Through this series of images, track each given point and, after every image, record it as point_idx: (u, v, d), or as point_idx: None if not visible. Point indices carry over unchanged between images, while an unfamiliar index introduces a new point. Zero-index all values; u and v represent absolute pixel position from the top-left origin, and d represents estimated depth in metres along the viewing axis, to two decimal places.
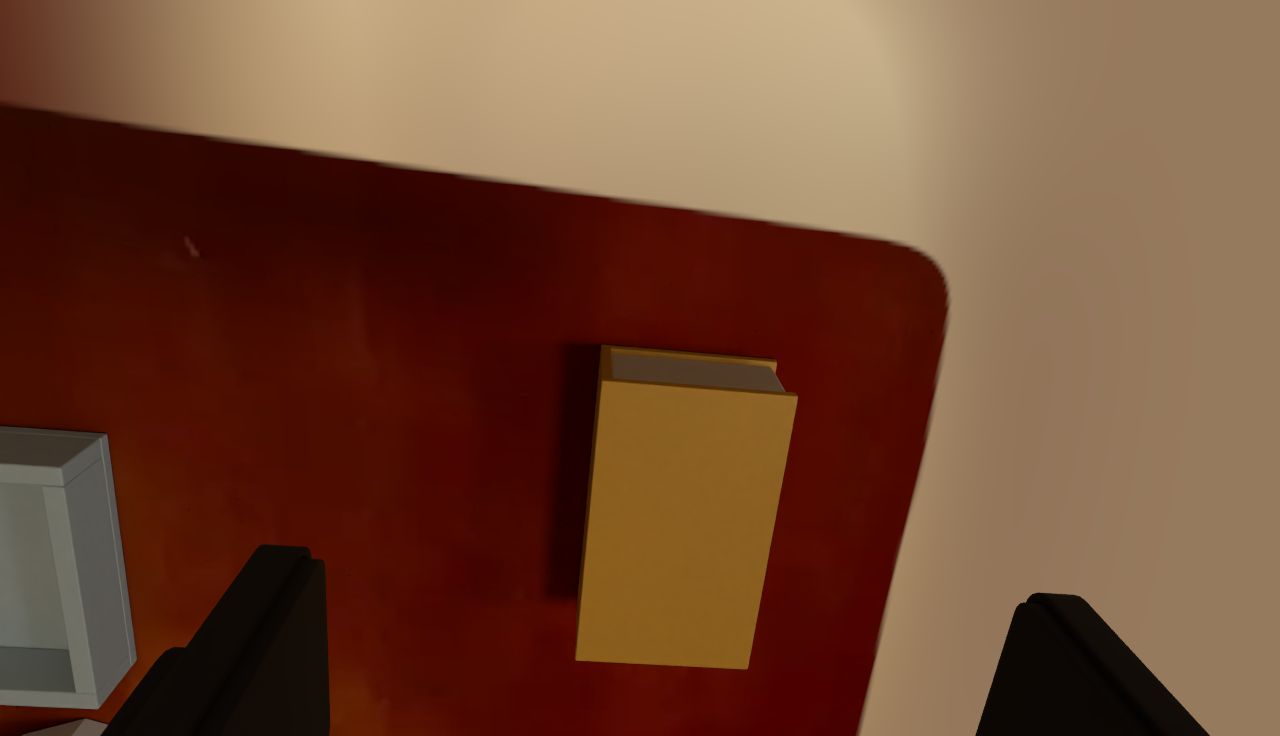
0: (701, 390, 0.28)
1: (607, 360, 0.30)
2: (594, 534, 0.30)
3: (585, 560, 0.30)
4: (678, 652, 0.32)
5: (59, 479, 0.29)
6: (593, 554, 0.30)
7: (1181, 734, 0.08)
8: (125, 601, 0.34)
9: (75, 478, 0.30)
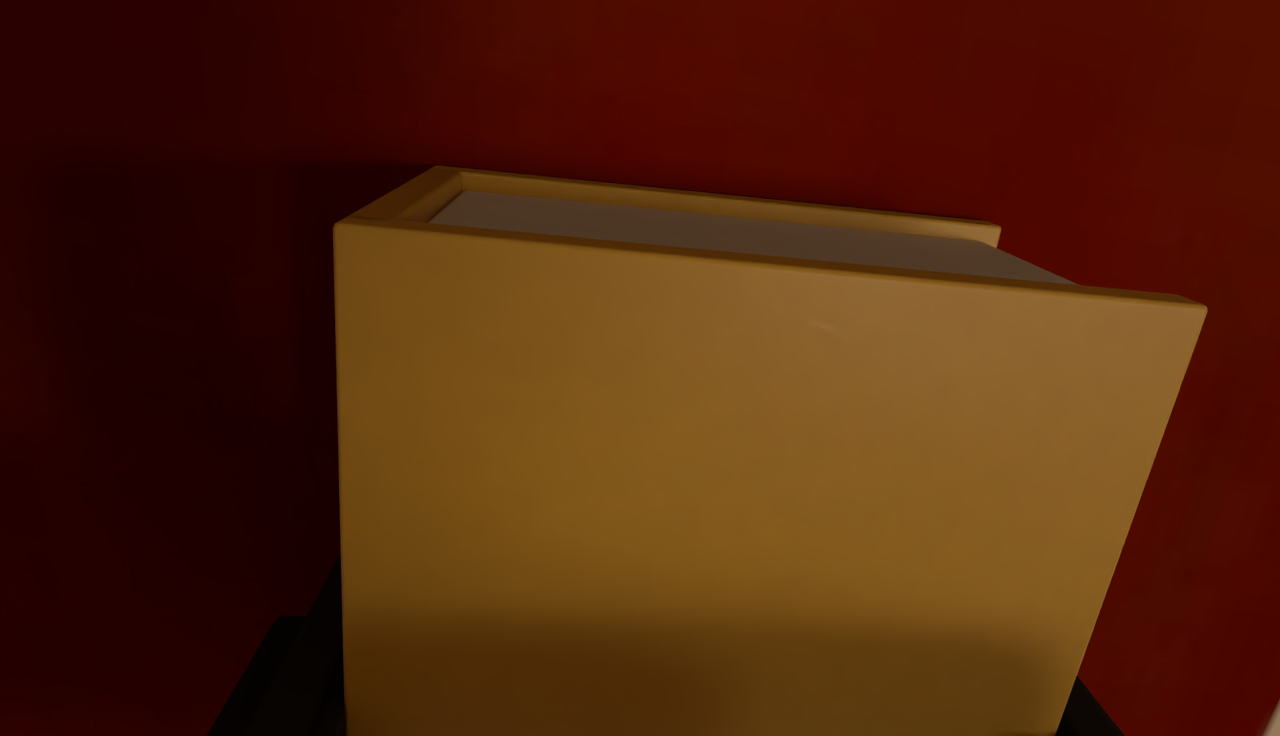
0: (792, 275, 0.06)
1: (422, 186, 0.08)
2: None
3: None
4: None
5: None
6: None
7: None
8: None
9: None
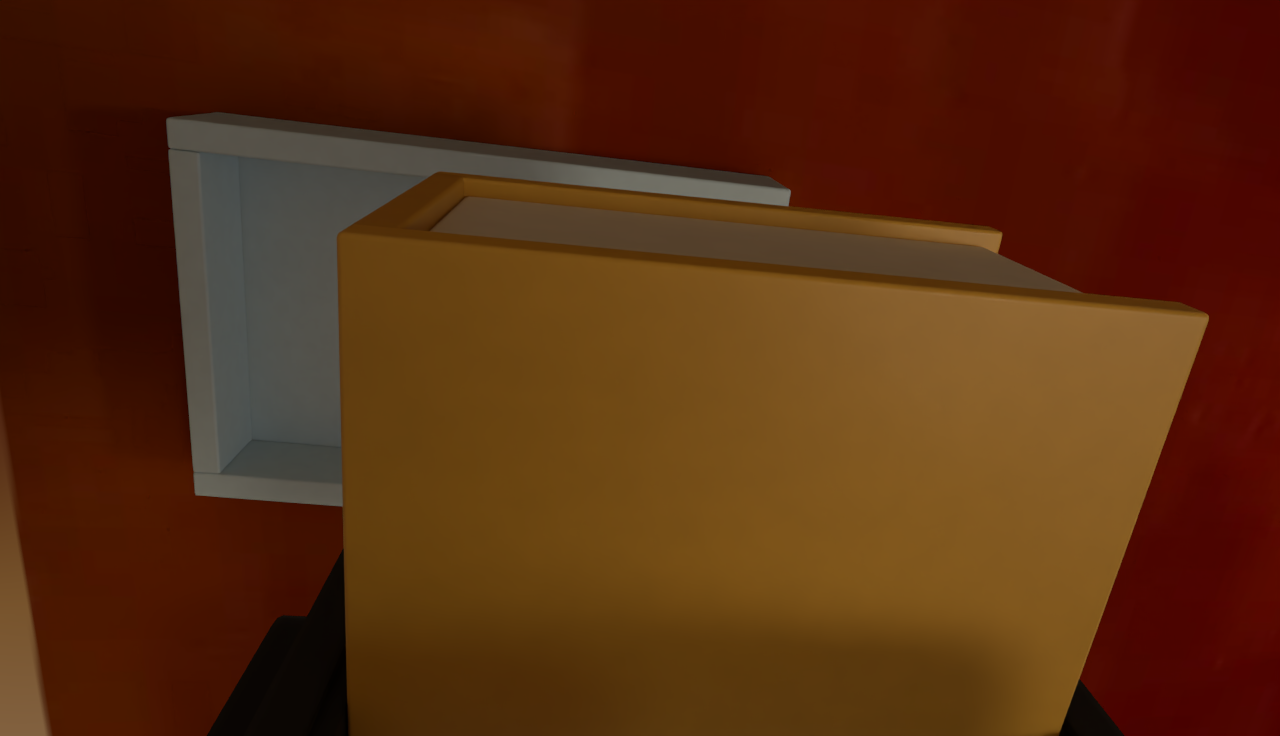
0: (794, 284, 0.06)
1: (425, 194, 0.08)
2: None
3: None
4: None
5: None
6: None
7: None
8: None
9: None
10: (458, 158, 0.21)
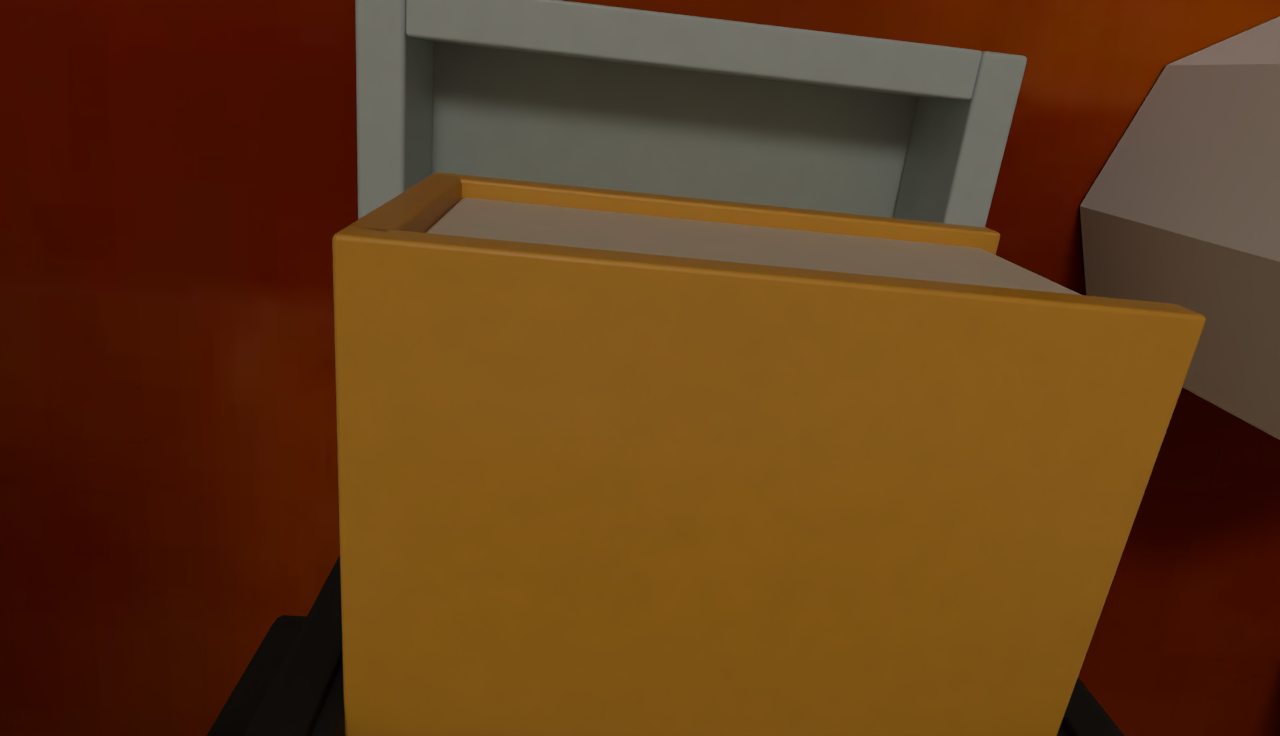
0: (791, 285, 0.06)
1: (421, 195, 0.08)
2: None
3: None
4: None
5: None
6: None
7: None
8: None
9: None
10: None
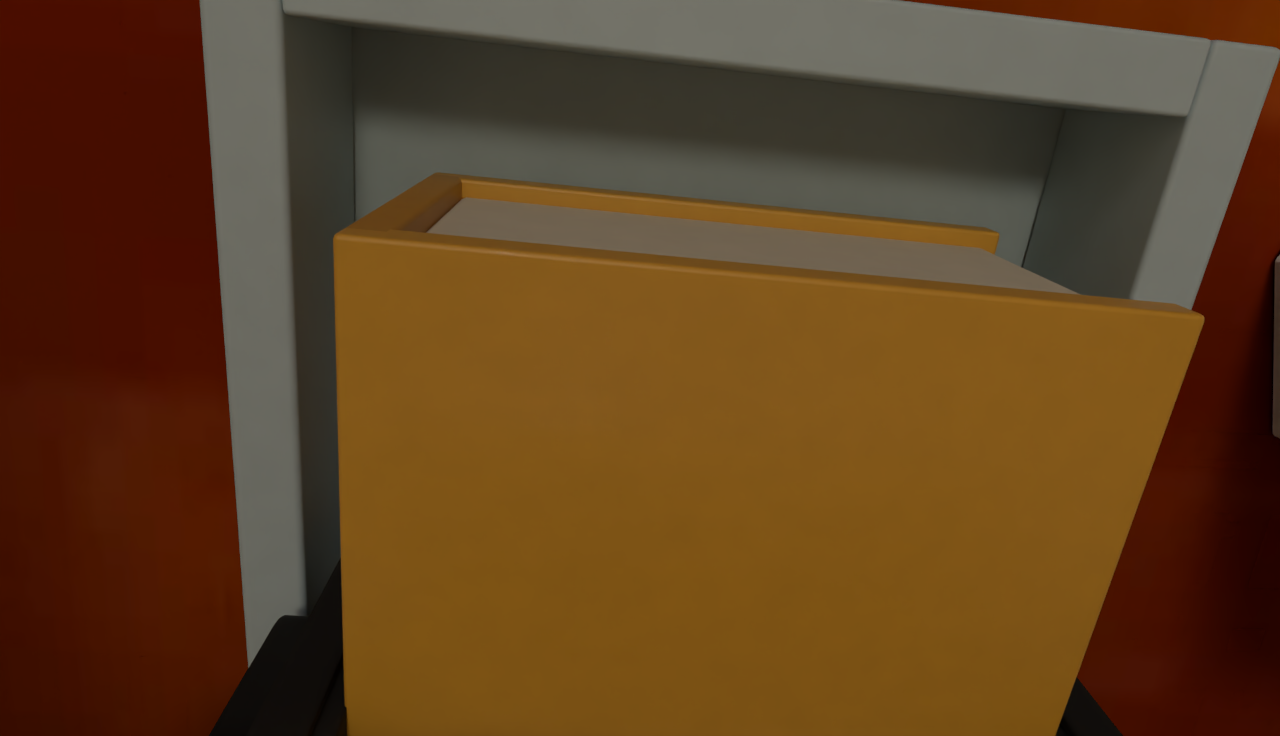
0: (791, 285, 0.06)
1: (422, 195, 0.08)
2: None
3: None
4: None
5: None
6: None
7: None
8: None
9: None
10: None
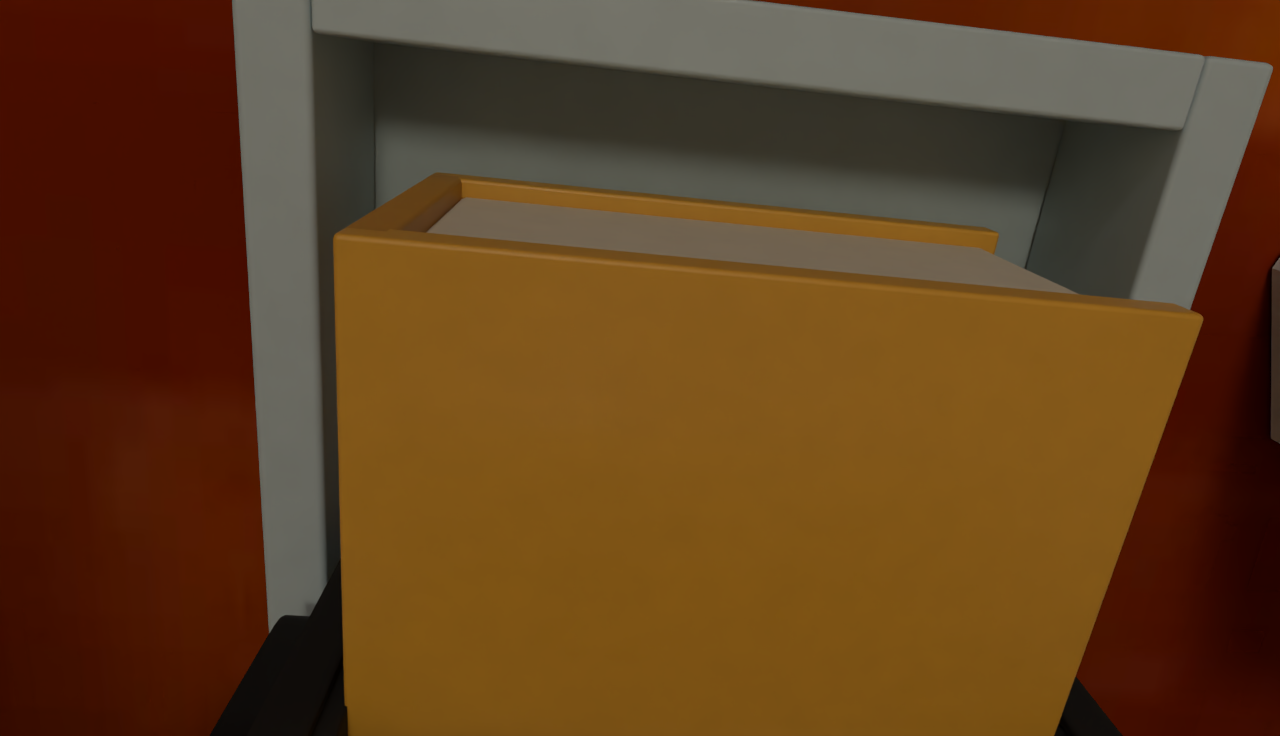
0: (790, 284, 0.06)
1: (422, 194, 0.08)
2: None
3: None
4: None
5: None
6: None
7: None
8: None
9: None
10: None
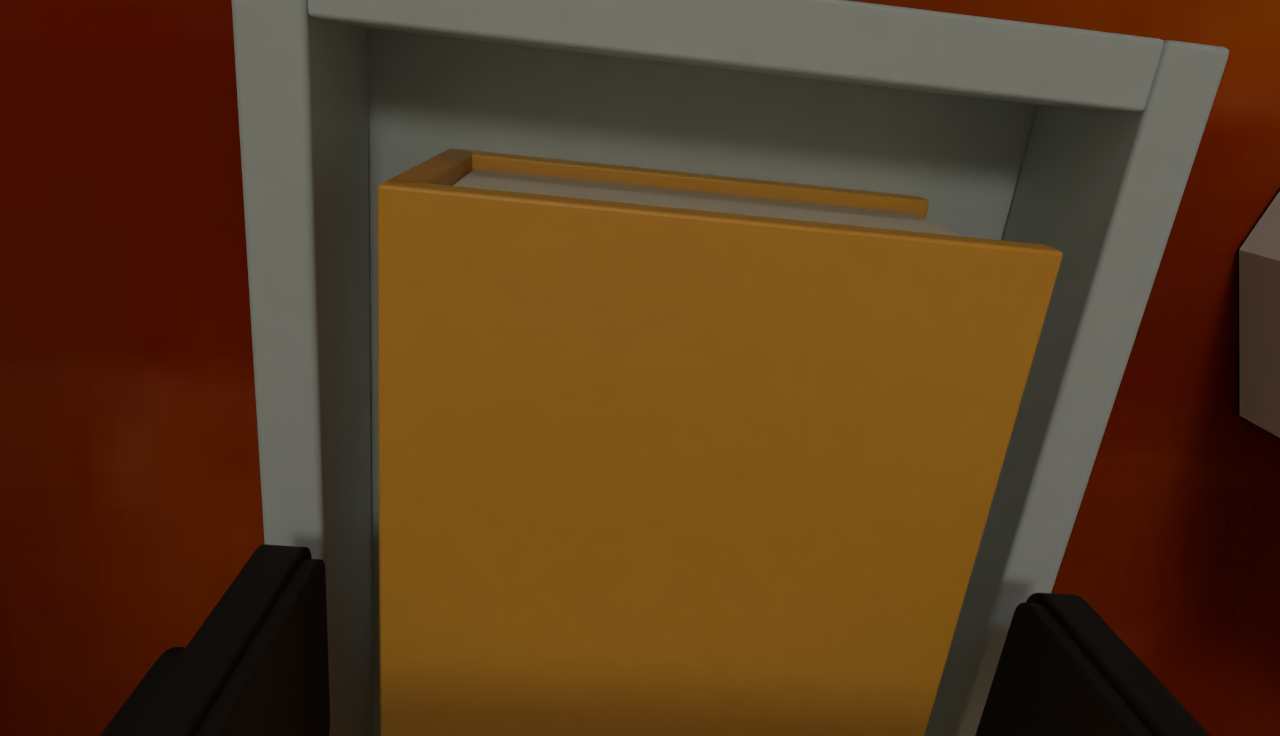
0: (734, 226, 0.08)
1: (441, 161, 0.10)
2: (401, 693, 0.10)
3: None
4: None
5: None
6: None
7: (1181, 734, 0.08)
8: None
9: None
10: None
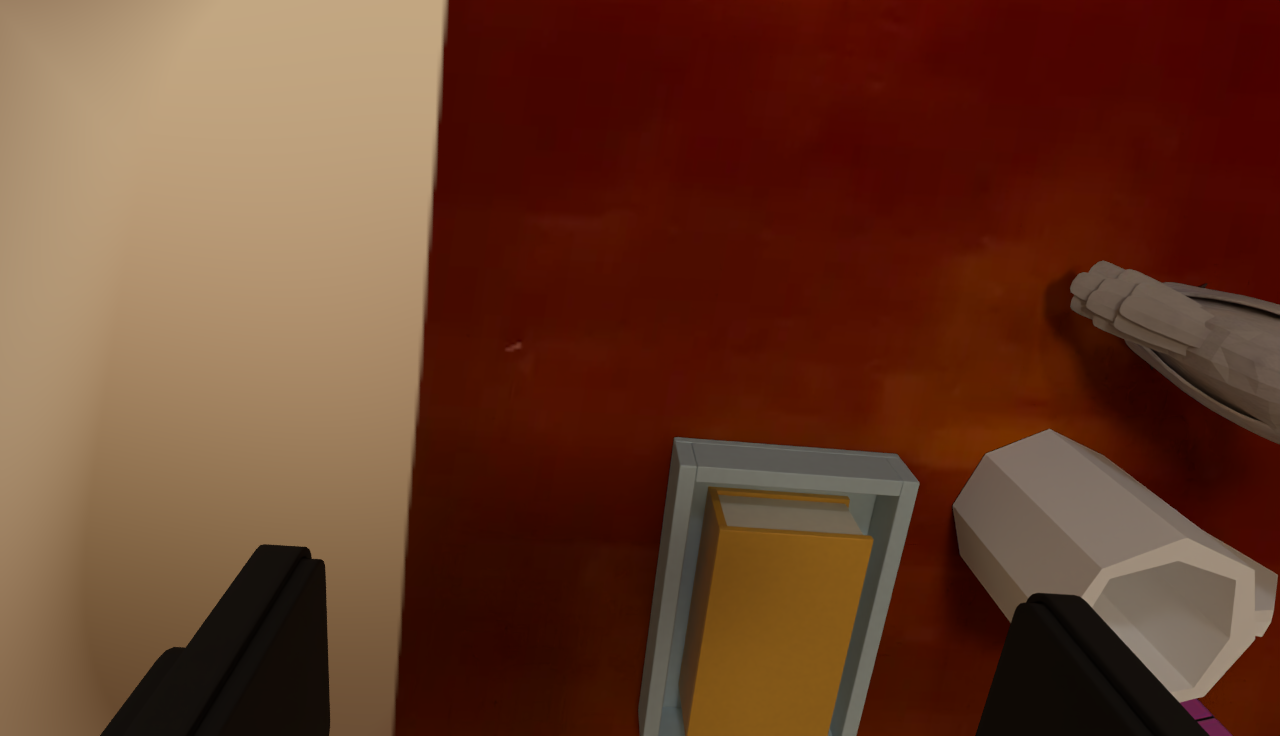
0: (797, 536, 0.36)
1: (718, 505, 0.37)
2: (707, 644, 0.37)
3: (698, 664, 0.38)
4: (769, 735, 0.40)
5: (690, 467, 0.36)
6: (705, 660, 0.38)
7: (1181, 734, 0.08)
8: (833, 451, 0.39)
9: (696, 459, 0.37)
10: (661, 633, 0.39)
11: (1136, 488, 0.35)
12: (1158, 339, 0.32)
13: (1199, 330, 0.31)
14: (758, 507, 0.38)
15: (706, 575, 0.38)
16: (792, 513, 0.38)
